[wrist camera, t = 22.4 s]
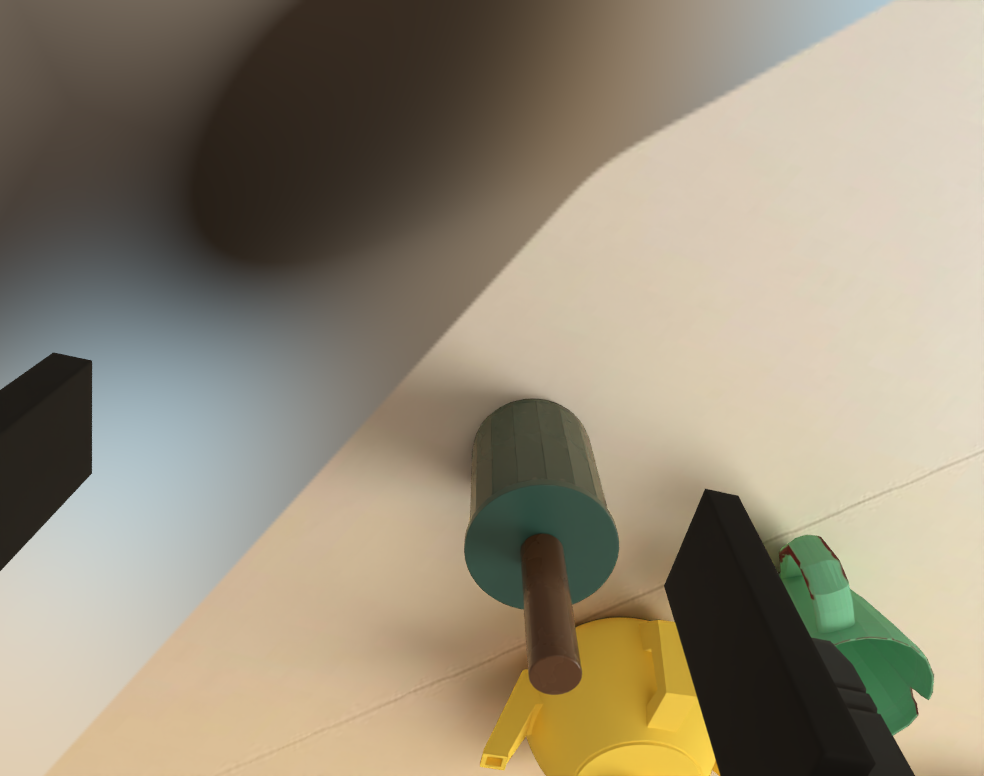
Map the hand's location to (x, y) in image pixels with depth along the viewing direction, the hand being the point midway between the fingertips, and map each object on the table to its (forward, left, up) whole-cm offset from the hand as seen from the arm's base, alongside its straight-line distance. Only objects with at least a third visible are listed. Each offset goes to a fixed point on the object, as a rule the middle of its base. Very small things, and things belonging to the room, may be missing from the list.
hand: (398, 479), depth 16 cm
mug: (+31, +20, -31) cm, 48 cm away
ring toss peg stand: (+18, +2, -21) cm, 27 cm away
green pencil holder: (+18, +2, -31) cm, 36 cm away
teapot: (+40, +6, -31) cm, 51 cm away
